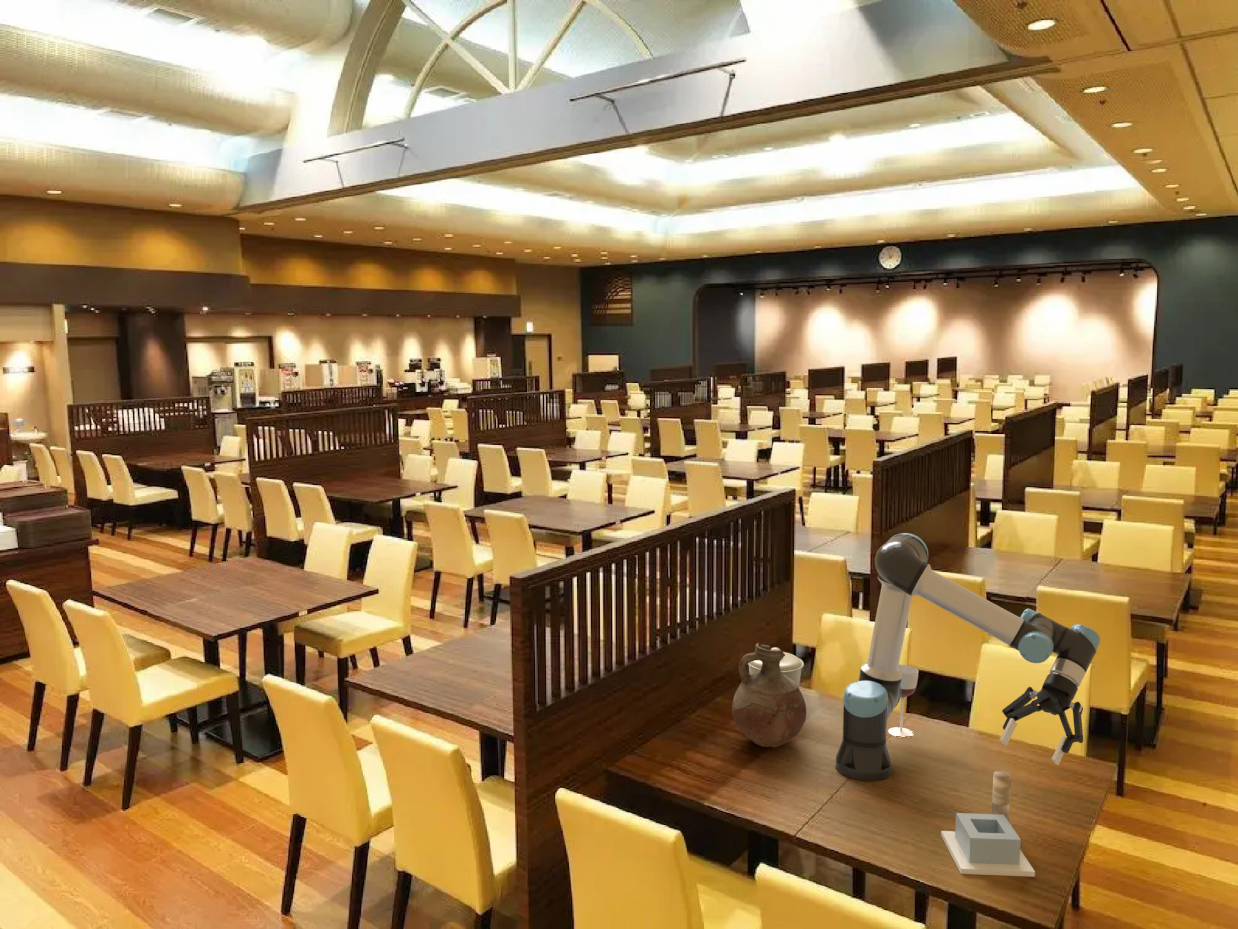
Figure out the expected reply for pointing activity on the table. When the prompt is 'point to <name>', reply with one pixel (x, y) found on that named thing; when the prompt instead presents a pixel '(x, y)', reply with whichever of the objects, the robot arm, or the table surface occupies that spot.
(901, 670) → the wineglass
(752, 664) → the canister
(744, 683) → the jug
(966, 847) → the socket block
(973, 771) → the table surface
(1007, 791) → the birch peg
